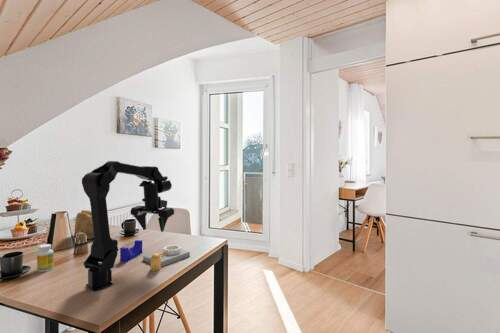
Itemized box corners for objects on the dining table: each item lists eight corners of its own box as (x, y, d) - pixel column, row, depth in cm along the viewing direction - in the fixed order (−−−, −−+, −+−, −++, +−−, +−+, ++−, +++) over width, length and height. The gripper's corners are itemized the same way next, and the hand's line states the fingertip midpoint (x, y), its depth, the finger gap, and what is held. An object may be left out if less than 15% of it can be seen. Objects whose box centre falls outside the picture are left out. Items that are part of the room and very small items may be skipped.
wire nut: (154, 271, 111) (154, 257, 111) (148, 269, 114) (148, 254, 113) (163, 268, 115) (163, 254, 114) (157, 266, 117) (157, 252, 117)
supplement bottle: (41, 267, 114) (41, 243, 114) (56, 266, 115) (55, 243, 115) (34, 272, 109) (33, 248, 109) (49, 271, 110) (49, 247, 110)
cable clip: (133, 252, 134) (133, 239, 133) (142, 252, 133) (142, 240, 132) (117, 261, 122) (117, 247, 122) (126, 262, 121) (126, 248, 121)
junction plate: (160, 267, 116) (160, 257, 116) (143, 260, 123) (143, 251, 123) (189, 256, 129) (189, 247, 129) (172, 250, 136) (172, 242, 136)
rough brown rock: (107, 243, 149) (109, 214, 149) (70, 244, 142) (73, 214, 142) (108, 233, 170) (110, 208, 171) (76, 233, 163) (78, 207, 163)
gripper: (180, 192, 125) (182, 226, 127) (145, 190, 131) (147, 223, 133) (165, 198, 115) (167, 235, 117) (128, 195, 121) (131, 231, 123)
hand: (153, 230), depth 123 cm, fingers open, 9 cm apart
